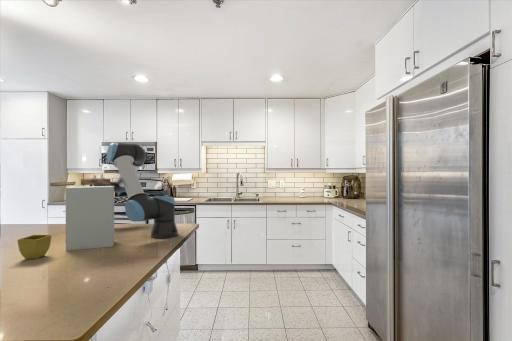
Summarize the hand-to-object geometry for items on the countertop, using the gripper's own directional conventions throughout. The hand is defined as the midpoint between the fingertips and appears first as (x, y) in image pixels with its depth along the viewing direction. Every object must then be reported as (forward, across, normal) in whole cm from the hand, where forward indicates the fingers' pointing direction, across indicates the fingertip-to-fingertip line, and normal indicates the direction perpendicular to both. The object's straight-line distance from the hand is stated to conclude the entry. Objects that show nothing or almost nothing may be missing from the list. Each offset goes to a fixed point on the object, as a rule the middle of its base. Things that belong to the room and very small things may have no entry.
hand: (97, 176), depth 165 cm
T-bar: (-3, 0, -3) cm, 4 cm away
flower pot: (+13, +20, -48) cm, 54 cm away
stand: (+3, 0, -42) cm, 42 cm away
